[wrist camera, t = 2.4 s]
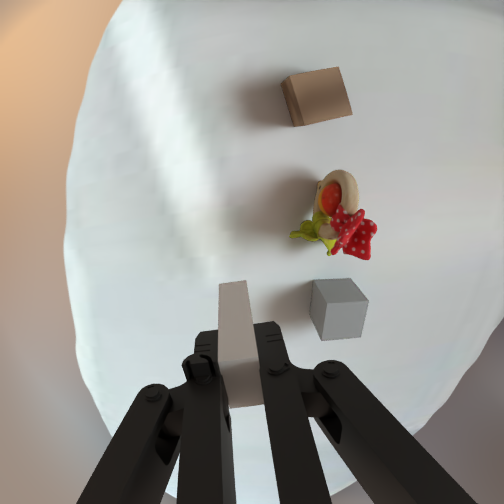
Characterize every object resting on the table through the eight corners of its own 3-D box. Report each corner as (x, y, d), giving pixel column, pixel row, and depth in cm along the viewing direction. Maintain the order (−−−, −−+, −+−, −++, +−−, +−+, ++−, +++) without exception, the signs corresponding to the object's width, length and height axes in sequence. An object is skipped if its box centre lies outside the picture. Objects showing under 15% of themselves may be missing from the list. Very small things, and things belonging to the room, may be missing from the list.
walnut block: (280, 84, 30) (289, 75, 26) (323, 75, 30) (338, 66, 25) (293, 126, 32) (304, 125, 27) (335, 116, 32) (352, 114, 27)
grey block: (313, 279, 39) (327, 303, 33) (350, 278, 39) (368, 300, 34) (309, 314, 40) (321, 340, 35) (344, 311, 41) (360, 337, 35)
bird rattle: (291, 178, 36) (284, 256, 36) (325, 144, 25) (318, 251, 25) (340, 187, 37) (335, 262, 36) (388, 160, 26) (385, 260, 25)
